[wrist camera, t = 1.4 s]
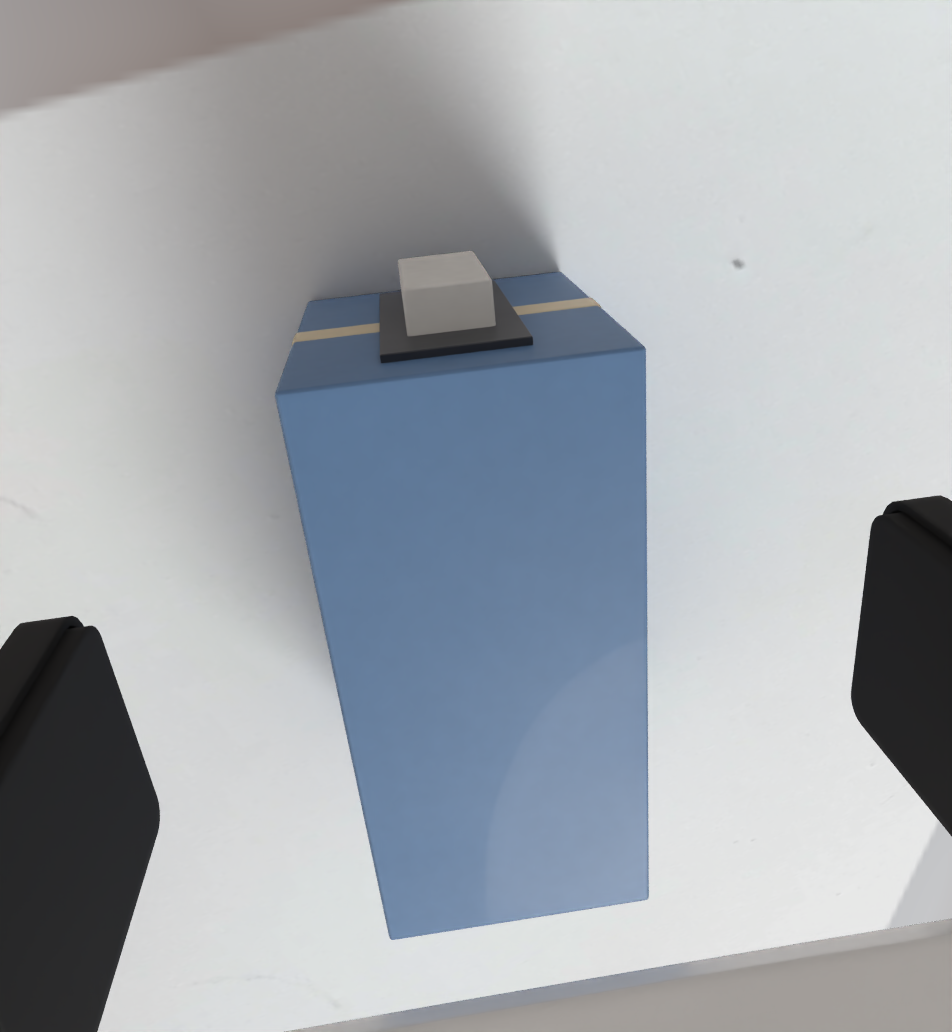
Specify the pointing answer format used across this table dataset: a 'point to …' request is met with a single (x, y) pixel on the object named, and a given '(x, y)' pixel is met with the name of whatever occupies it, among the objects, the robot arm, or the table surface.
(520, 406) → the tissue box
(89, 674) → the robot arm
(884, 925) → the table surface
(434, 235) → the table surface
